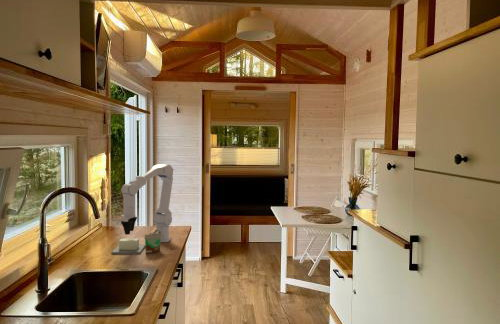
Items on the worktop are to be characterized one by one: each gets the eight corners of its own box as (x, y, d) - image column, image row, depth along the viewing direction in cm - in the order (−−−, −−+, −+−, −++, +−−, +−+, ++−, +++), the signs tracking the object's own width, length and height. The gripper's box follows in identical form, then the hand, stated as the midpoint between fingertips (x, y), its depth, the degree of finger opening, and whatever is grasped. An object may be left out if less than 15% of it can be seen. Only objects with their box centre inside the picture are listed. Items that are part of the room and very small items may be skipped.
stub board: (119, 246, 200) (119, 241, 200) (145, 246, 201) (145, 241, 201) (111, 254, 186) (111, 248, 186) (139, 254, 187) (139, 248, 187)
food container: (155, 255, 185) (155, 235, 185) (144, 254, 186) (144, 235, 186) (166, 248, 197) (166, 230, 197) (155, 247, 199) (155, 229, 198)
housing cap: (121, 246, 196) (121, 238, 195) (138, 246, 196) (139, 238, 196) (118, 249, 191) (118, 241, 190) (136, 249, 191) (136, 241, 191)
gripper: (125, 204, 199) (125, 229, 200) (117, 209, 185) (117, 236, 185) (138, 204, 200) (138, 229, 200) (131, 209, 185) (131, 236, 186)
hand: (129, 232), depth 193 cm, fingers open, 7 cm apart
